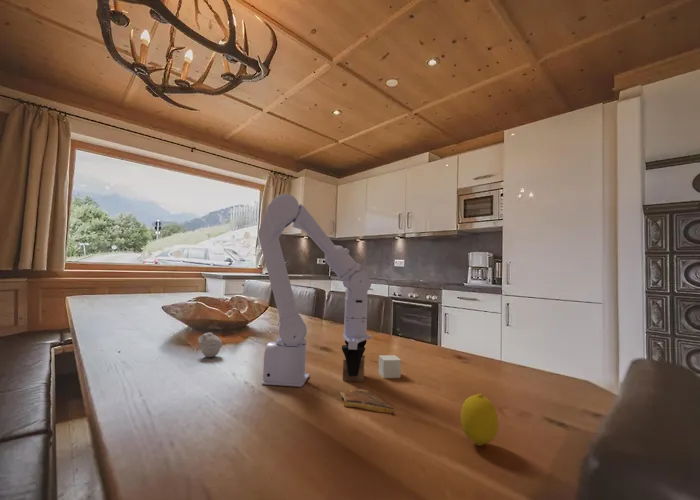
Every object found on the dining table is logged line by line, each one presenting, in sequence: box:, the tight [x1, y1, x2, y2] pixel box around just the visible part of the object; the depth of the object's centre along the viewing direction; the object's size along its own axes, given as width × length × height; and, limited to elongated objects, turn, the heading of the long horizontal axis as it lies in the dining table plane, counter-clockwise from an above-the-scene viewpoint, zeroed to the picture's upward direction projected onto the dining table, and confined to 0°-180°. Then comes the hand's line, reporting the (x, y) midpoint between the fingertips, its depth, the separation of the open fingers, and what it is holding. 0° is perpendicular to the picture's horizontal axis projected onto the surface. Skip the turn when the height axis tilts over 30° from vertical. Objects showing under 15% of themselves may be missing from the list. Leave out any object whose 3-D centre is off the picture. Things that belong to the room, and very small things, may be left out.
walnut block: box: [342, 354, 366, 383], centre depth 81 cm, size 5×5×5 cm
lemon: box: [460, 393, 499, 447], centre depth 52 cm, size 6×6×8 cm
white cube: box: [378, 354, 402, 379], centre depth 84 cm, size 4×4×4 cm
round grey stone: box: [197, 332, 223, 358], centre depth 95 cm, size 6×7×7 cm
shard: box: [339, 388, 395, 414], centre depth 65 cm, size 11×8×2 cm
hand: (353, 371), depth 81 cm, fingers closed on walnut block, 5 cm apart
